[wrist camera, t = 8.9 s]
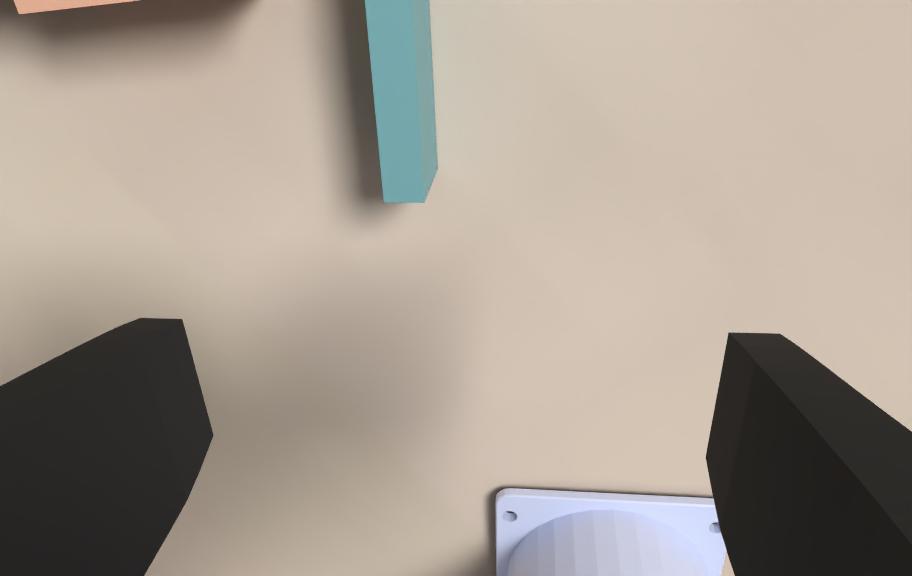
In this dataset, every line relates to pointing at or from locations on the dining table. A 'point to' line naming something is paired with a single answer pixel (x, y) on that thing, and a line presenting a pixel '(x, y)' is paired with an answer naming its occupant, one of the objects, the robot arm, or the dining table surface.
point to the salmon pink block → (58, 4)
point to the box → (403, 97)
